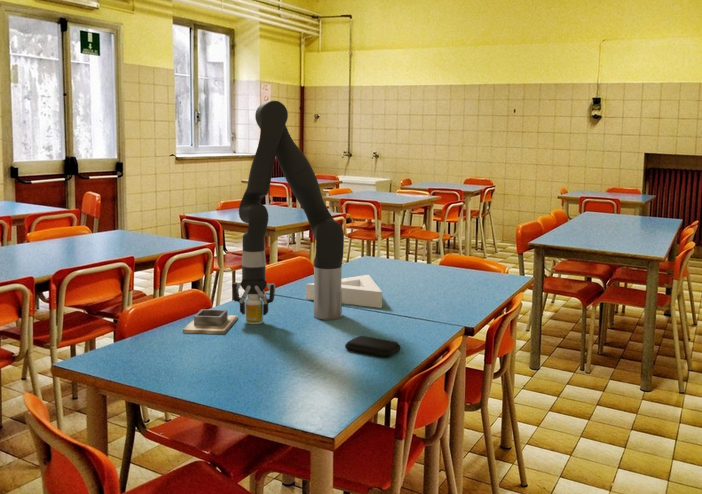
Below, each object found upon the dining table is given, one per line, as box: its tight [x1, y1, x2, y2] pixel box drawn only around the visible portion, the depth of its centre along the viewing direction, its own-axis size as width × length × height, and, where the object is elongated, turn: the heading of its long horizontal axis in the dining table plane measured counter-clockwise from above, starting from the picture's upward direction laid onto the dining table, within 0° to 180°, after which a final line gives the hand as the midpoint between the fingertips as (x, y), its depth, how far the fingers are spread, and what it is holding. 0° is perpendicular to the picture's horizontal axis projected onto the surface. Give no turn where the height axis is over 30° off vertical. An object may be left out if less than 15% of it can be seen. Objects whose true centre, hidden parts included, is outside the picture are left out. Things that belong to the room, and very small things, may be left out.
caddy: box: [182, 308, 238, 335], centre depth 222 cm, size 13×18×4 cm
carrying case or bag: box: [344, 335, 402, 359], centre depth 199 cm, size 11×3×15 cm
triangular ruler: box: [305, 274, 383, 309], centre depth 264 cm, size 30×26×6 cm
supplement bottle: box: [245, 294, 264, 325], centre depth 225 cm, size 5×5×10 cm
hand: (254, 314), depth 226 cm, fingers open, 6 cm apart
